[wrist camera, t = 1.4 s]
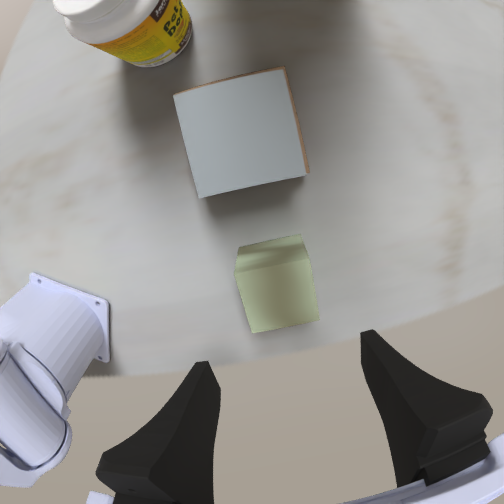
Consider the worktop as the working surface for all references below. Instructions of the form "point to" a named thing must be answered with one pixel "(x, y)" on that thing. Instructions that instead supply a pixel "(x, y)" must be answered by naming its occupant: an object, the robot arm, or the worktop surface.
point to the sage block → (276, 284)
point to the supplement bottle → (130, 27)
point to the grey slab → (240, 133)
